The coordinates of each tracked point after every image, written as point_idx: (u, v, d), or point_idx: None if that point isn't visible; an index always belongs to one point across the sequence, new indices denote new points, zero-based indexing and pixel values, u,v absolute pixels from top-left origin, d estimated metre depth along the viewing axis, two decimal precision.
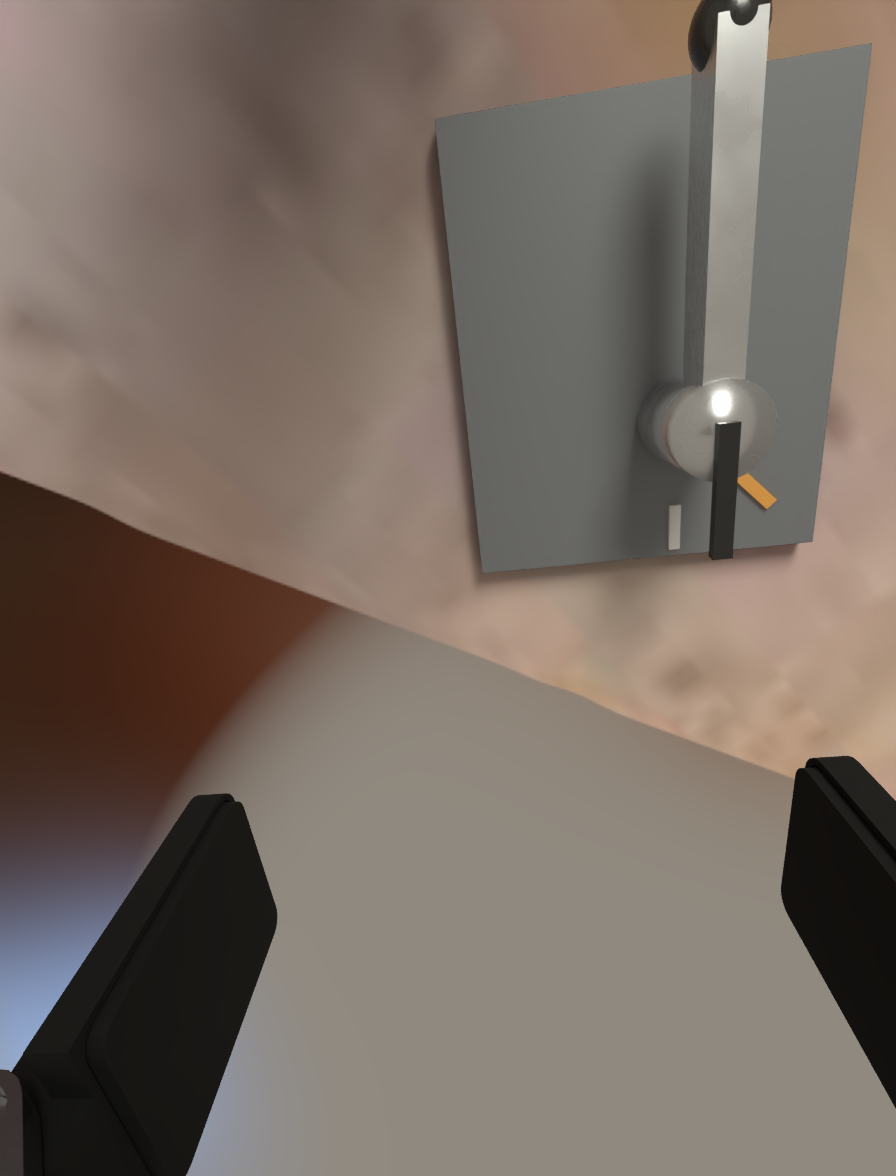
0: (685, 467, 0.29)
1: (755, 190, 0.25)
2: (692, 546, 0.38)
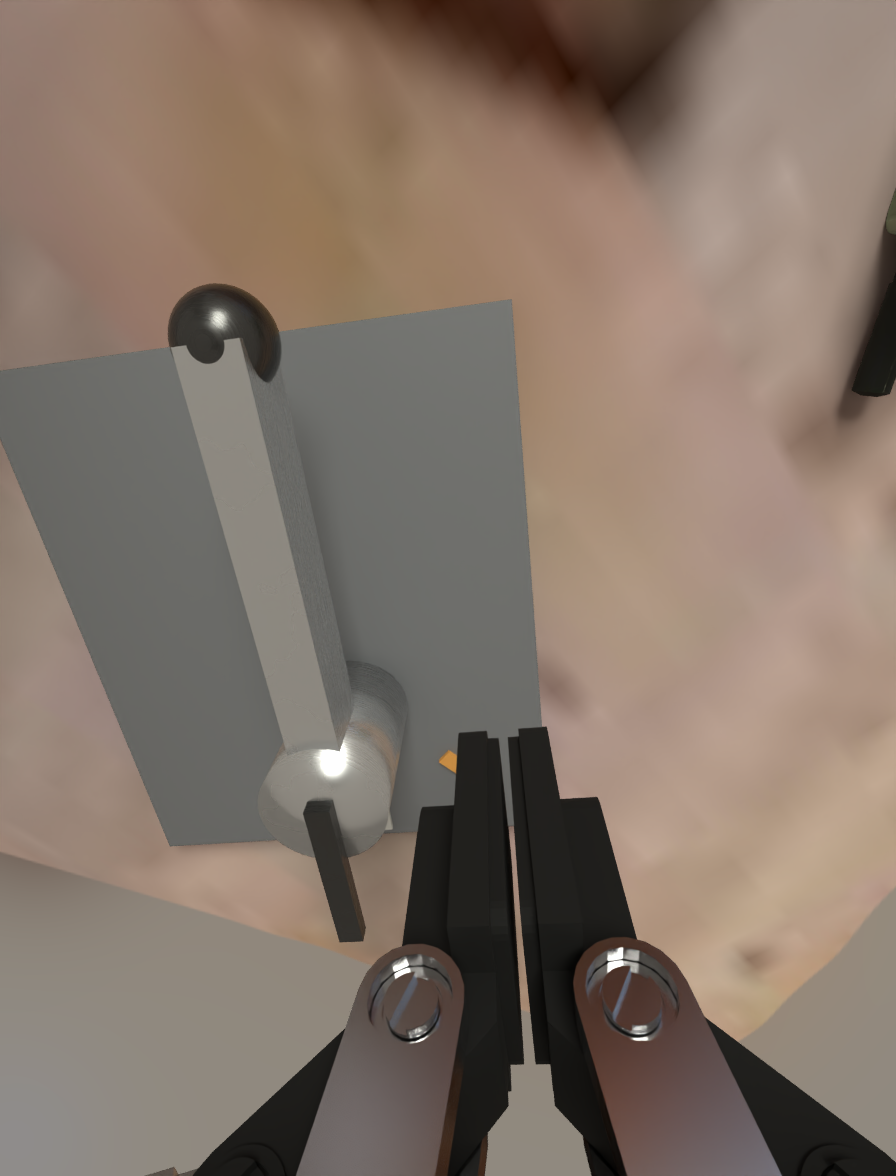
0: (284, 844, 0.22)
1: (293, 549, 0.18)
2: (409, 825, 0.31)
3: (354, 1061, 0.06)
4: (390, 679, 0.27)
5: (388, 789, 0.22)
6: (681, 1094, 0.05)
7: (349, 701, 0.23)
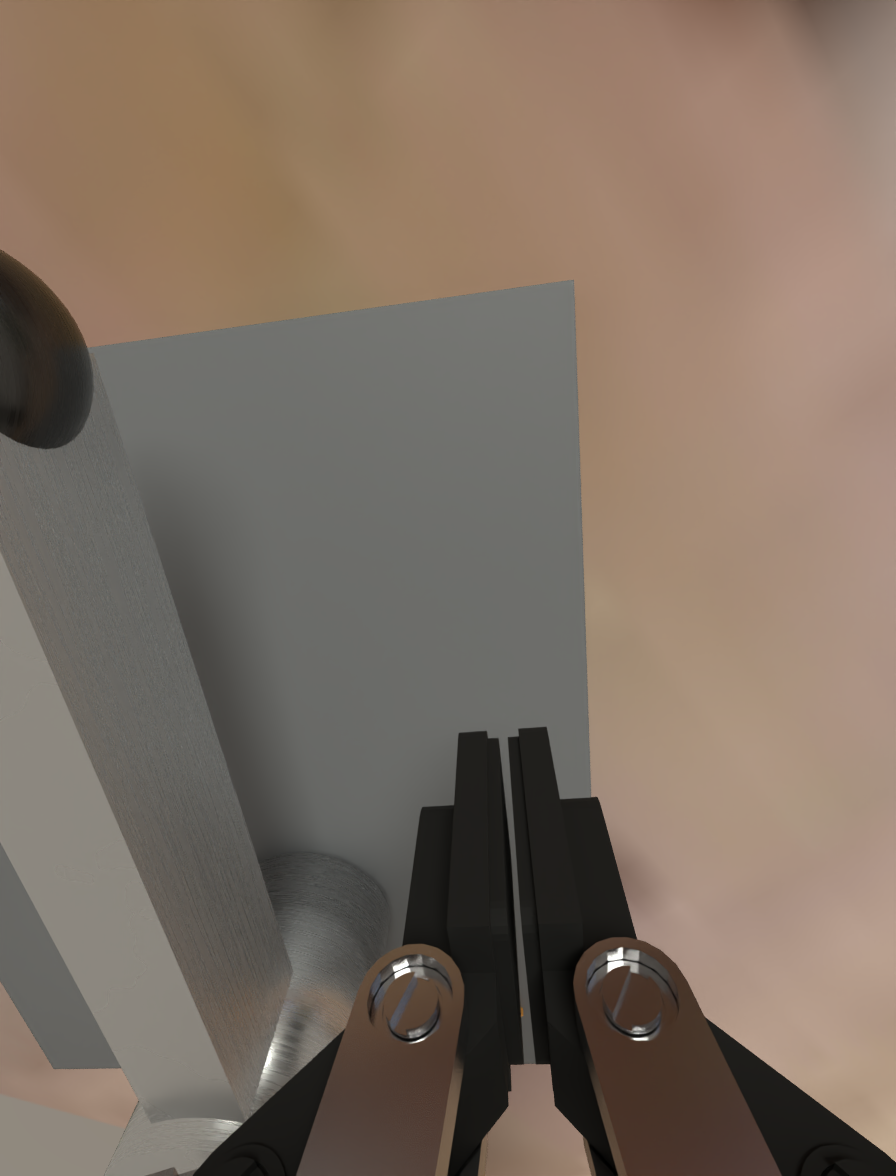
0: None
1: (121, 800, 0.08)
2: None
3: (354, 1061, 0.06)
4: (361, 884, 0.17)
5: None
6: (681, 1094, 0.05)
7: (279, 979, 0.13)
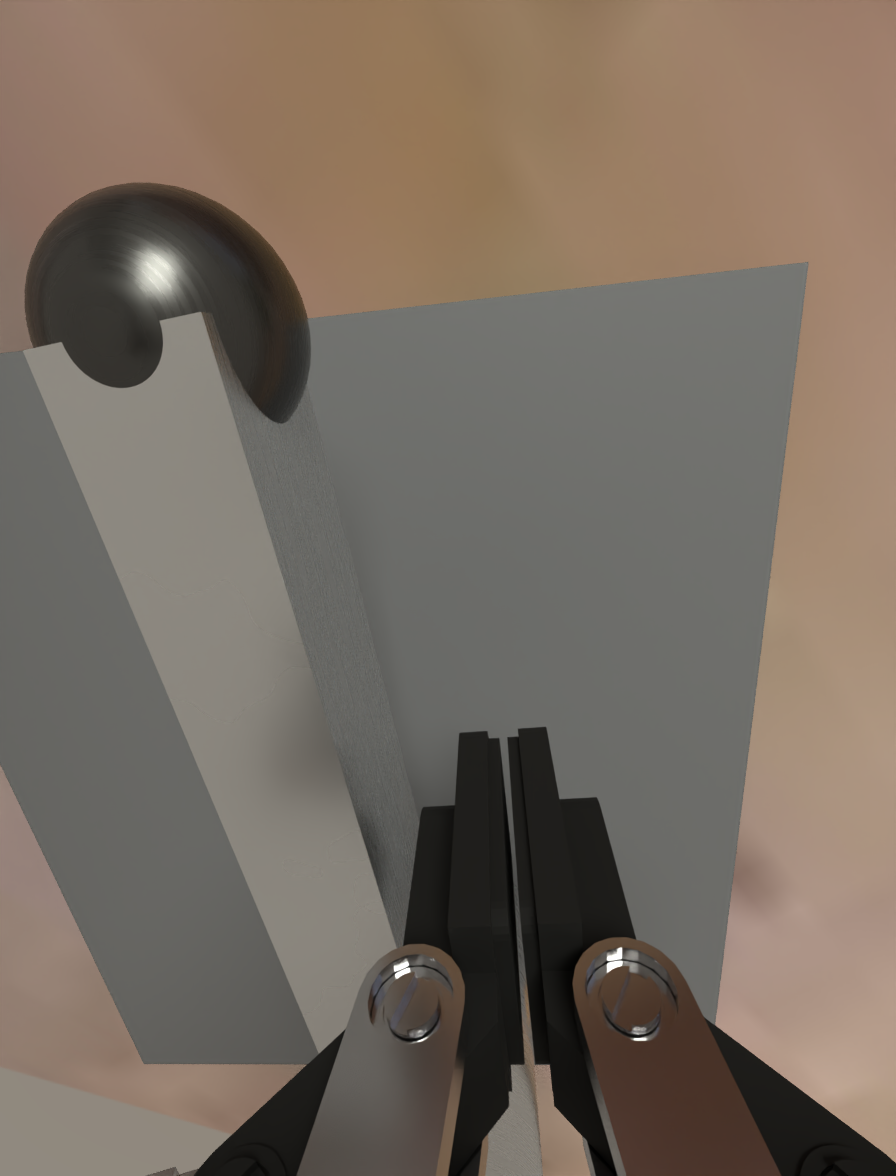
0: None
1: (354, 788, 0.08)
2: None
3: (355, 1061, 0.06)
4: None
5: (540, 1168, 0.11)
6: (681, 1095, 0.05)
7: None
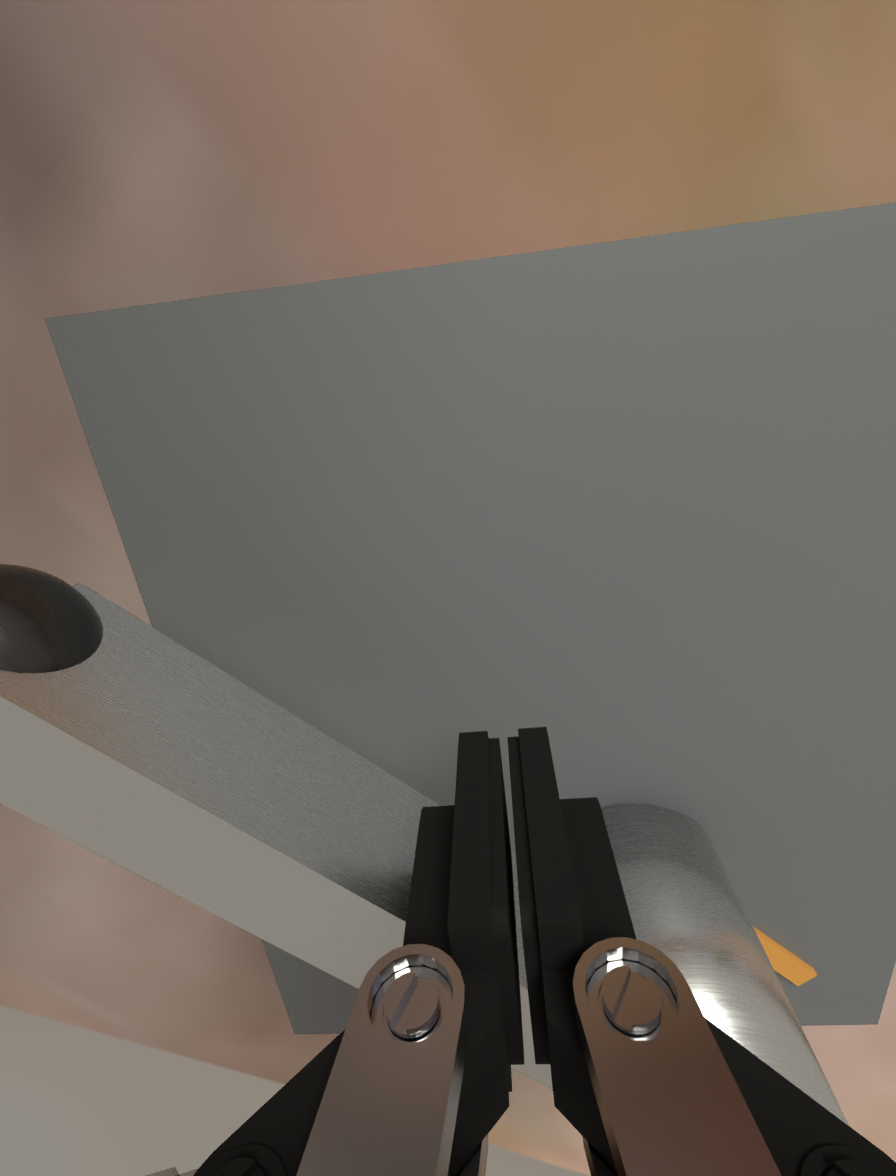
0: None
1: (320, 861, 0.09)
2: None
3: (354, 1061, 0.06)
4: (645, 815, 0.16)
5: (801, 1066, 0.11)
6: (681, 1095, 0.05)
7: None
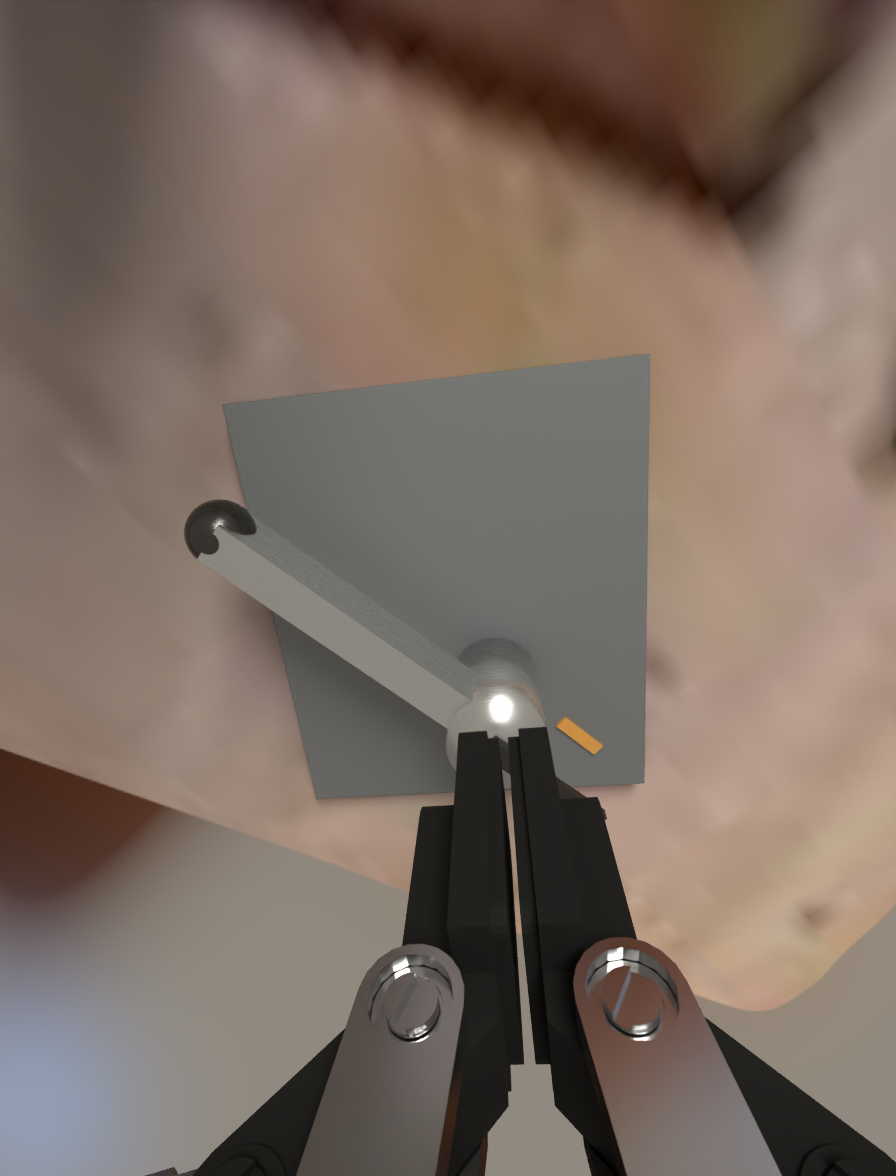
0: None
1: (337, 605, 0.26)
2: None
3: (354, 1061, 0.06)
4: (495, 640, 0.33)
5: (525, 703, 0.27)
6: (682, 1094, 0.05)
7: (464, 670, 0.29)
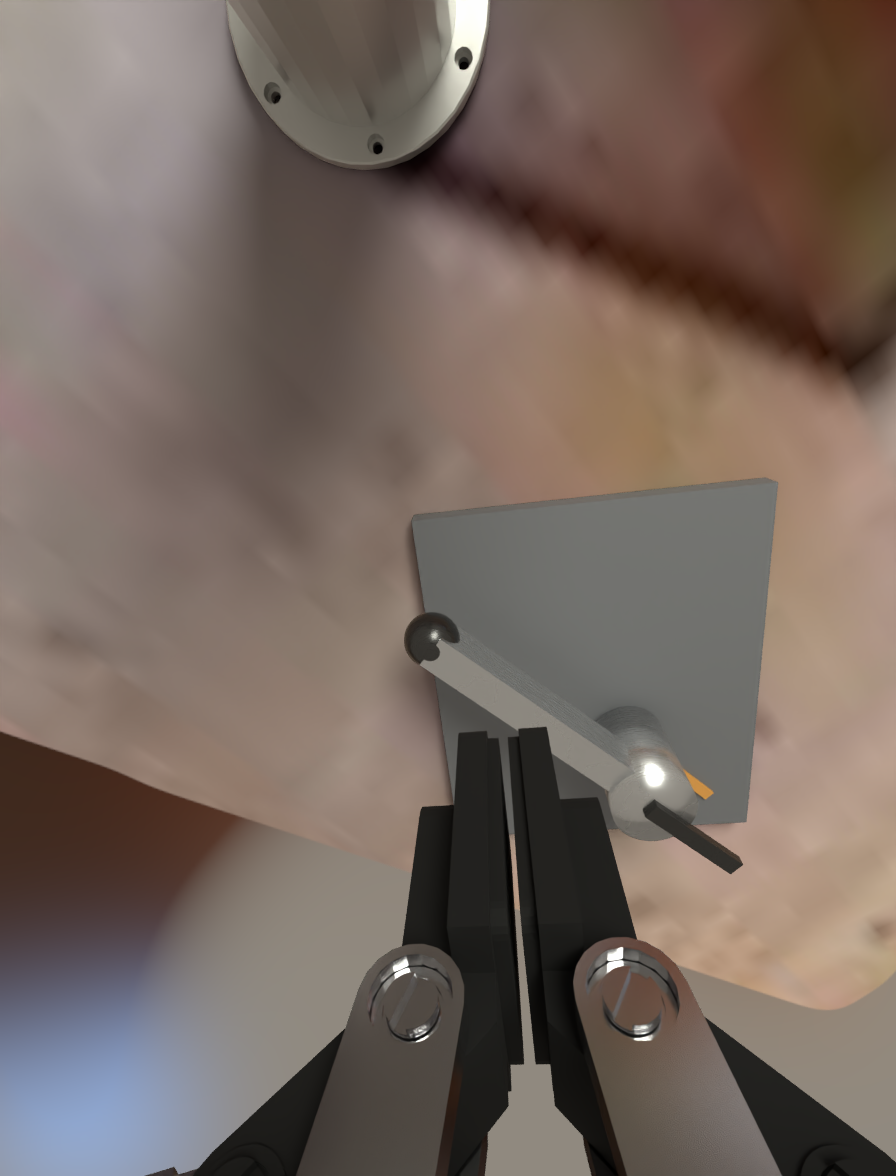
0: (651, 840, 0.34)
1: (530, 698, 0.32)
2: None
3: (354, 1061, 0.06)
4: (630, 709, 0.38)
5: (678, 772, 0.33)
6: (682, 1095, 0.05)
7: (618, 741, 0.35)
